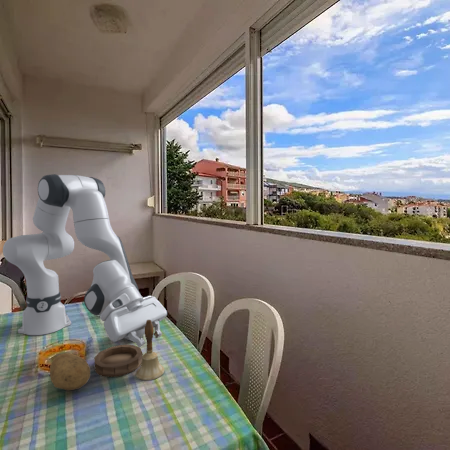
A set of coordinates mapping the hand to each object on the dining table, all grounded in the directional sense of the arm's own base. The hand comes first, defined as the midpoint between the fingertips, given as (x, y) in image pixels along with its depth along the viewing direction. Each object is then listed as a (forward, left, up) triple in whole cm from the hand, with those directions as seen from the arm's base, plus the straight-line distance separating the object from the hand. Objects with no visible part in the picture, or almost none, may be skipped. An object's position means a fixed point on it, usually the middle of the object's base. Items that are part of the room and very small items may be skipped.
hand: (151, 340), depth 89 cm
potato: (-3, -22, -10) cm, 24 cm away
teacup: (-30, 0, -10) cm, 31 cm away
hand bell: (-1, 0, -10) cm, 10 cm away
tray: (-10, -8, -10) cm, 16 cm away
